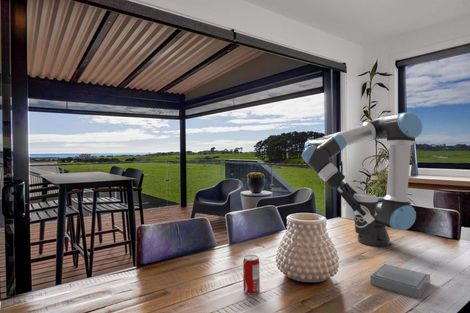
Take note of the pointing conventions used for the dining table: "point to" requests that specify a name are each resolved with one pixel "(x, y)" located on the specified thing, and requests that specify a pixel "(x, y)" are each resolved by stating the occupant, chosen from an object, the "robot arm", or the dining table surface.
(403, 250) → the dining table surface
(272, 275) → the dining table surface
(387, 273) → the slate base
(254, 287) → the soda can
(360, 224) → the coffee cup
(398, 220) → the robot arm
